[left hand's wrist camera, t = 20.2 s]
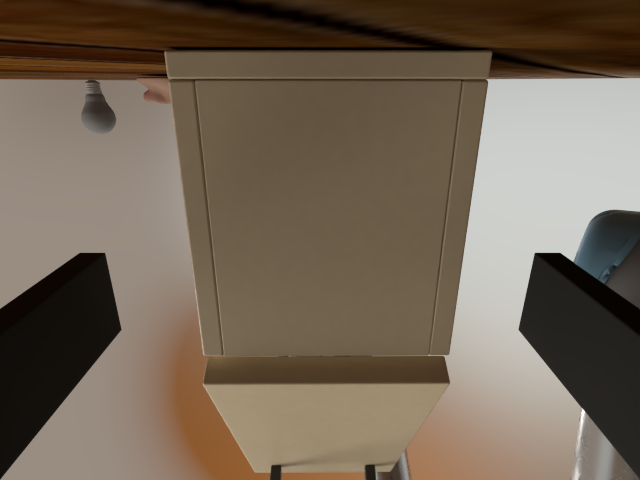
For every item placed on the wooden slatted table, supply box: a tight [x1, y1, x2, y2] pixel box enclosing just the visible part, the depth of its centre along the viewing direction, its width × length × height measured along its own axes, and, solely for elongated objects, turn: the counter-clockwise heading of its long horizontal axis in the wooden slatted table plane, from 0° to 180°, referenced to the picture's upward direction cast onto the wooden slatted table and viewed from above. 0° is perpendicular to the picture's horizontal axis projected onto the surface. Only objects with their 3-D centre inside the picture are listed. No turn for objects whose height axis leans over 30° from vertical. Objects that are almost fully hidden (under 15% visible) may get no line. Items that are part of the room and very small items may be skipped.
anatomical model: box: [137, 77, 171, 104], centre depth 50 cm, size 13×4×12 cm
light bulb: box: [82, 80, 116, 134], centre depth 78 cm, size 6×6×10 cm
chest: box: [165, 50, 492, 356], centre depth 22 cm, size 17×10×11 cm, turn 0°
